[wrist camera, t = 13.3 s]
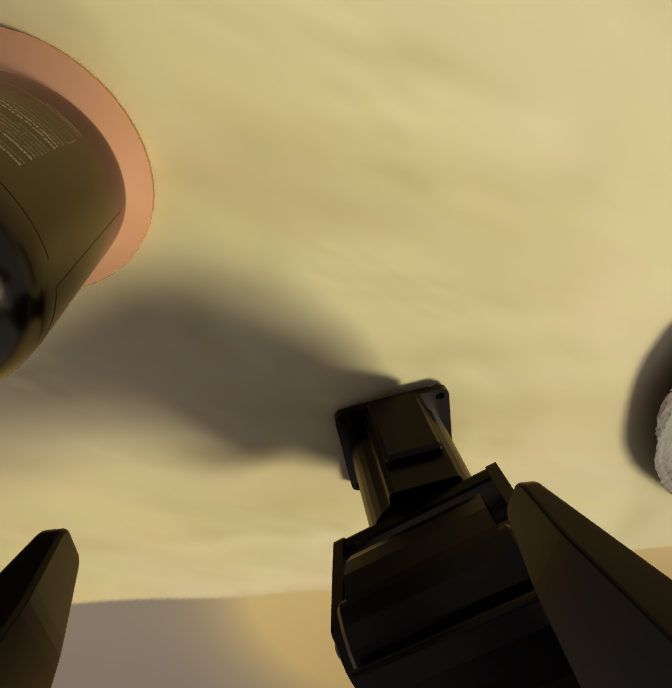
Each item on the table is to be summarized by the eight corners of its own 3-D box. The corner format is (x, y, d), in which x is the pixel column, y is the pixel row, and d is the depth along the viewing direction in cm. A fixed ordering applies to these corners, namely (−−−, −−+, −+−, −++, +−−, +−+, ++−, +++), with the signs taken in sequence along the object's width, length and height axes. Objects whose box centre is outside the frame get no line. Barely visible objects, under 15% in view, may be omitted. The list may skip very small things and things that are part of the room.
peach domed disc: (189, 257, 19) (187, 260, 19) (-22, 308, 19) (-27, 313, 18) (83, -6, 14) (79, -8, 14) (-205, 58, 14) (-216, 58, 13)
